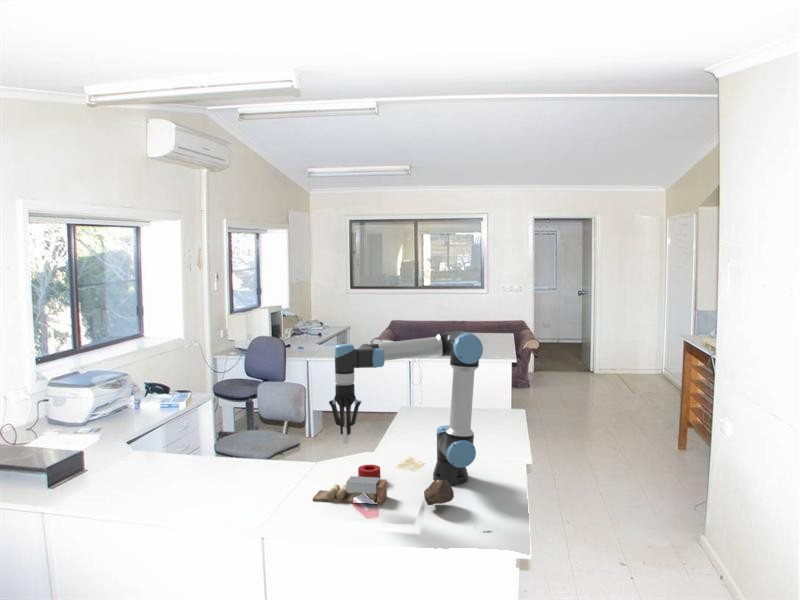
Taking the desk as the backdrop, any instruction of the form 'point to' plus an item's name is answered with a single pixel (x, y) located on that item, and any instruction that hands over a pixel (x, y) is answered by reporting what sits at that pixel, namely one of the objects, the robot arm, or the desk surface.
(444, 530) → the desk surface
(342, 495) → the cylinder
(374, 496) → the roller
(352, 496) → the roller
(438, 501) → the rock
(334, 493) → the roller
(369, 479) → the slab
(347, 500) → the board
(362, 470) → the lever
